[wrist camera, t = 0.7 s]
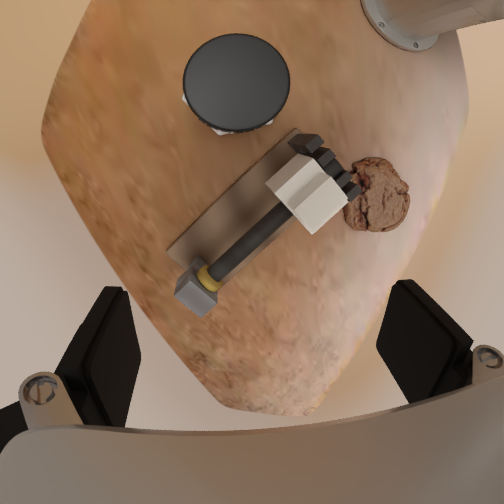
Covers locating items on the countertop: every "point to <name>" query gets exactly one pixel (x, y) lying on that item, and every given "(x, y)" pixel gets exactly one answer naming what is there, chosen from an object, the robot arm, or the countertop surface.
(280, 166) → the comb rig
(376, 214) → the cookie
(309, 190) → the sleeve
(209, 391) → the countertop surface
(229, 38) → the jar
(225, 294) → the countertop surface
